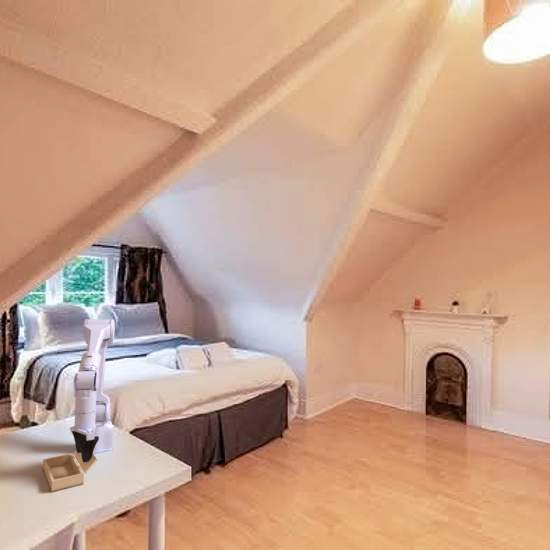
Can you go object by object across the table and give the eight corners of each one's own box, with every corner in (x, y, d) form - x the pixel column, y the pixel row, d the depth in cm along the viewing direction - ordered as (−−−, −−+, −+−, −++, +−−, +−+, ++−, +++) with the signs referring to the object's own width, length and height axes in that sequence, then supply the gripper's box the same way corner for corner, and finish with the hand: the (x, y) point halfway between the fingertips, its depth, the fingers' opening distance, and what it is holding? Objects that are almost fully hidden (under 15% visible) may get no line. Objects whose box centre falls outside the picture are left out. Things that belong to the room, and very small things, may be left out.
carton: (71, 462, 132) (72, 453, 132) (83, 484, 119) (83, 473, 119) (42, 469, 127) (43, 459, 127) (51, 492, 114) (52, 481, 114)
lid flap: (73, 453, 131) (74, 454, 132) (84, 472, 119) (85, 473, 119) (84, 441, 133) (85, 442, 134) (96, 459, 121) (98, 460, 121)
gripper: (66, 406, 129) (64, 451, 129) (76, 420, 118) (74, 468, 118) (90, 403, 134) (88, 446, 133) (102, 416, 122) (100, 463, 122)
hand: (83, 456), depth 126 cm, fingers open, 7 cm apart
